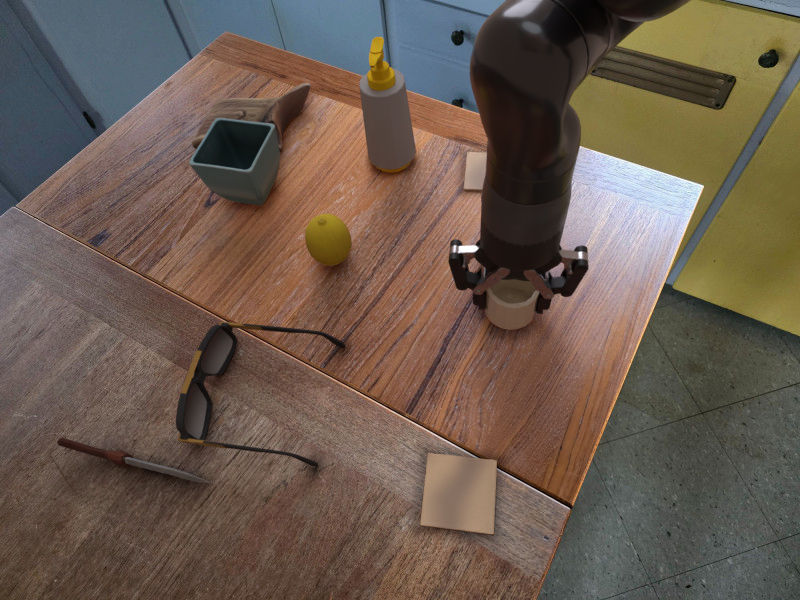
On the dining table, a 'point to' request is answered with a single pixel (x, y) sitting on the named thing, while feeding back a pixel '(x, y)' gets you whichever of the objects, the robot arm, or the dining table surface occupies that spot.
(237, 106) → the fragment
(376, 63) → the soap bottle
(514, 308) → the cream dish
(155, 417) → the dining table surface
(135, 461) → the knife
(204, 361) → the sunglasses
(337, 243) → the lemon
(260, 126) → the flower pot
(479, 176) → the far coaster
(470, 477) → the near coaster
